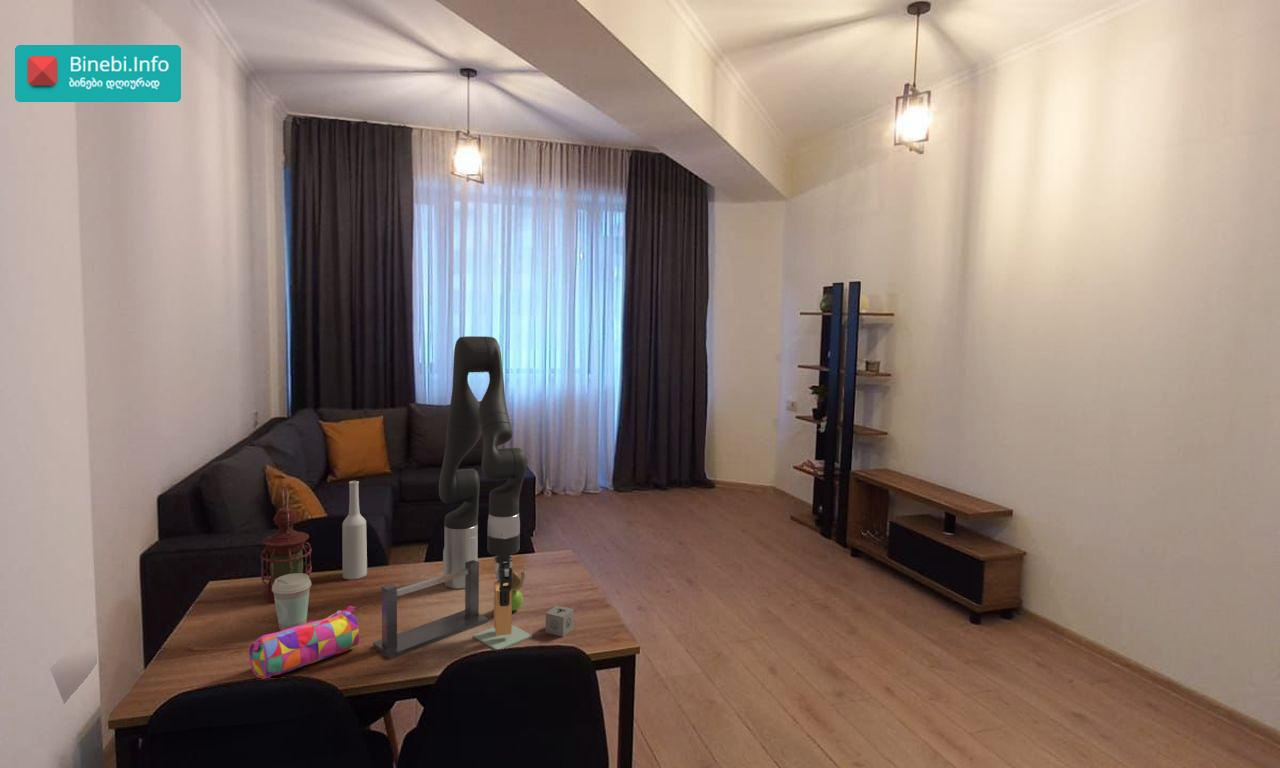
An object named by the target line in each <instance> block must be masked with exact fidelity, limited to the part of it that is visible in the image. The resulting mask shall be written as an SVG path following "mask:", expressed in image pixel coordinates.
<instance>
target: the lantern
mask: <svg viewBox="0 0 1280 768" xmlns="http://www.w3.org/2000/svg"><path fill="white" fill-rule="evenodd" d="M284 490H285V491H284ZM285 492H286V506H285ZM281 493H282V507H279V508H278V509H277V511H276V513H275V515H274V516H273V519H272V520H273V522H274V525H275V526H278V532H277V531H276V532H275V533H273V534H271V535H269V536H267V537H265V538H264V539H263V540H262V544H263V545H264V546H265V548H264V549H263V550H262V551H261V554H260V556H259V557H260V560H261V562H260V563H261V573H260V576H261V577H260V578H261V581H262V583H263V584H264V585H265V586H266V589H265V591H266V593H265V596H264V597H265V598H264V599H265V600H266V601H267V602H268V603H275V599H274V592H273V591H272V586H273V584H274V581H275V580H276V579H277V578H278V577H281V576H284V575H287V574H294V573H302V574H307V575H308V576H309V577H310V575H311V573H312V569H313V566H312V561H311V560H312V557H311V556H312V555H311V554H312V546H311V544H310V543H309V542H307V540H308V539H309V538H310V536H309V534H308V533H306V532H303V531H298V530H294V529H293V527H294V524H296V523H297V520H298V518H299V517H298V514H297V512H296V511H295V510H294V508H293V507H291V506H289V490H288V488H287V487H286V486H285V485H284V484H283V485H282V488H281ZM305 543H306V544H307V545H305ZM307 550H308V551H307ZM303 551H304V554H303ZM265 555H266V557H265ZM304 558H305V559H304ZM307 558H308V559H307ZM304 560H305V562H304ZM307 560H308V561H307ZM264 561H265V562H266V567H265V570H264ZM304 567H305V571H304ZM265 573H266V575H267V576H265ZM265 580H266V581H269V582H268V584H267V583H266V582H265Z"/></svg>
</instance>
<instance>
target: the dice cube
mask: <svg viewBox="0 0 1280 768" xmlns="http://www.w3.org/2000/svg"><path fill="white" fill-rule="evenodd" d="M574 613H575V609H573V608H569V607H565V606H561V605H554V606H553V607H552V608H551V609H549V610H548V611H546V613H545V633H547V634H550V635H555V636H558V637H563V638H564V637H565V636H566V635H567V634H569V633H570V632H571V631H572V630H574V625H575V624H574V621H575V619H574V617H575V616H574Z"/></svg>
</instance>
